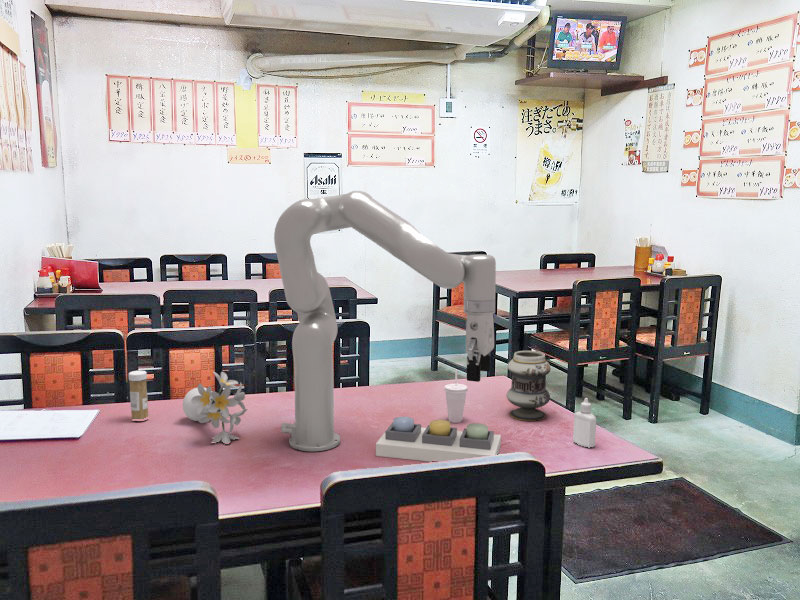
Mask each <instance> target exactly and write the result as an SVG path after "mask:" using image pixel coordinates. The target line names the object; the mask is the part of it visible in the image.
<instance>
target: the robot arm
mask: <svg viewBox="0 0 800 600" xmlns="http://www.w3.org/2000/svg"><path fill="white" fill-rule="evenodd" d="M349 228H352V229H353V230H354V231H356V232H357V233H359V234H361V235H362V236H364V237H366V238H367V239H369V240H370V241H371V242H373V243H375V244H376V245H377V246H379V247H381V248H382V249H383V250H385V251H386V252H387V253H389V254H391V256H393V257H394V258H396V259H397V260H400V261H401V262H402V263H404V264H406V266H408V267H409V268H410V269H412V270H414V271H415V272H416V273H418V274H419V275H421V276H423V278H425V279H427V280H428V281H430V282H432V283H434V284H435V285H436V286H438V287H439V288H441V289H442V288H443V289H448V290H451V289H455V288H457V287H459V286H460V285H461V283H463V313H464V314H466V322H465V353H466V354H467V356H466V381H468V382H476V383H477V382H479V383H480V381H481V372H487V373H488V372H490V371H491V352H492V351H493V349H494V348H495V327H494V326H495V325H494V314H495V313H496V282H497V281H496V280H497V279H496V274H497V273H496V271H497V270H496V269H497V268H496V267H497V265H496V264H497V263H496V259H495V257H494V256H493V255H492V254H491V255H490V254H481V253H480V254H479V253H478V254H468V255H466V254H456V253H450V252H449V253H448V252H447V251H446V250H444V249H443V248H441V247H439V246H438V245H437V244H435V243H434V242H432V241H431V240H429V238H427V237H425V236H424V235H423V234H422V233H421V232H420V231H418V229H416V228H415V226H414V225H412V224H411V223H410V222H409V221H407V220H406V219H404V217H402V216H400V215H398V214H397V213H395V212H394V211H392V210H391V209H390V208H388V207H386V206H385V205H383V204H382V203H380V202H379V201H377V200H376V199H374V198H373V197H372V196H371V195H370V194H369V193H367V192H365V191H362V190H352V191H349V192H348V193H343V194H338V195H332V196H330V195H329V196H325V197H318V198H304V199H299V200H297V201H295V202H294V203H292V204H290V206H289V207H287V208H286V209H285V210H284V211H283V212H282V214H281V215H280V216H279V218H278V220H277V222H276V224H275V228H274V233H273V235H274V237H273V241H274V242H273V243H274V248H275V254H276V257H277V262H278V267H279V273H280V275H281V281H282V285H283V291H284V296H285V300H286V303H287V305H288V306H289V307H290V309H291V310H293V311H294V312H296V313H297V317H298V321H299V323H298V324H297V326H296V327H295V328H294V332H293V334H292V341H291V346H292V347H291V348H292V349H291V350H292V357H293V370H294V374H293V375H294V377H293V378H294V380H293V381H294V422H293V423H290V422H289V423H288V422H281V425H280V430H281V434H290V435H291V436H290V437H289V439H288V443H289V445H290V447H291V448H293V449H295V450H297V449H298V451H303V452H322V451H323V452H324V451H328V450H331V449H333V448H335V447H337V446H339V444H341V436H340V435H339V434H338V433H337V432H335V419H334V418H335V416H334V414H335V410H334V409H335V405H334V404H335V403H334V401H335V400H334V397H335V395H334V388H335V386H334V383H335V382H334V381H335V380H334V358H333V345H334V344H333V343H335V340H336V339H337V335H338V329H339V328H338V322H337V318H336V313H335V307H334V303H333V298H332V294H331V289H330V286H329V284H328V281H327V279H326V278H325V277H324V275H322V274H321V273H319V272H318V269H317V266H316V261H315V256H314V252H313V248H312V246H311V238H312V237H313V236H314V235H315V234H319V233H324V232H331V231H336V230H337V231H338V230H343V229H349Z"/></svg>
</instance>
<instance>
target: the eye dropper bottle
mask: <svg viewBox="0 0 800 600" xmlns="http://www.w3.org/2000/svg"><path fill="white" fill-rule="evenodd" d="M591 406H592V404H591V403H590V402H589V398H587V397H585V398H584V400H583V402H581V403H580V411H576V412H575V413H574V415H573V416H574V417H573V432H572V435H573V436H572V442H573V443H574V442H575V443H577V444H578V445H577V444H576V445H577V446H579V445H581V446H580V447H582V446H585V447H588V448H587V449H591V448H590V447H592V448H594V447H595V445H596V436H597V435H596V434H597V433H596V432H597V417H596V415H594V414H593V413H592V407H591ZM575 443H574V444H575ZM585 447H584V448H585Z"/></svg>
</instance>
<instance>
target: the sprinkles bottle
mask: <svg viewBox="0 0 800 600" xmlns="http://www.w3.org/2000/svg"><path fill="white" fill-rule="evenodd" d="M147 373H148V372H147V371H146V370H133V371H130V372H128V382H129V397H130V399H129V400H130V411H131V412H130V413H131V419H144V418H146V417H148V416H149V402H148V400H149V399H148V390H147V386H148V385H147V378H148V375H147Z"/></svg>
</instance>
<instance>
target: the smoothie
mask: <svg viewBox="0 0 800 600" xmlns="http://www.w3.org/2000/svg"><path fill="white" fill-rule="evenodd" d="M454 373H455V374H454V375H455V377H454V379H455V380H454V383H448V384H446V385H444V389H443V390H444V391H445V397H446V398H445V400H446V409H447V418H448V419H447V421H448V422H450V423H453V424H457V423H462V422H463V417H464V410H465V405H466V403H465V402H466V398H467V397H466V396H467V392H468V391H469V390H468V385H466V384H462V383H458V370H455V372H454Z"/></svg>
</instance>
